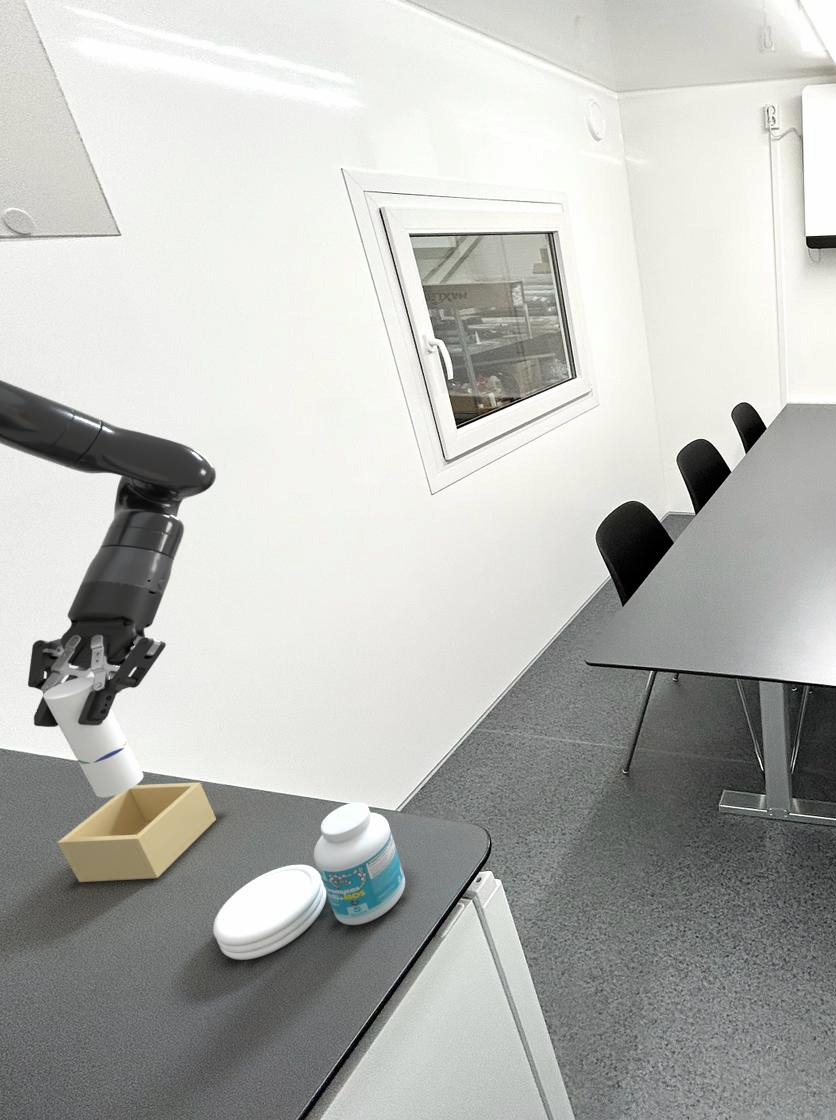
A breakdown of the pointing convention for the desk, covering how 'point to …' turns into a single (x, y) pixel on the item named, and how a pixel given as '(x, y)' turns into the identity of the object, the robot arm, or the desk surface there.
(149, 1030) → the desk surface
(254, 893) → the white round stack
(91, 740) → the tube
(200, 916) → the desk surface
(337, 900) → the pill bottle
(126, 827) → the bin
